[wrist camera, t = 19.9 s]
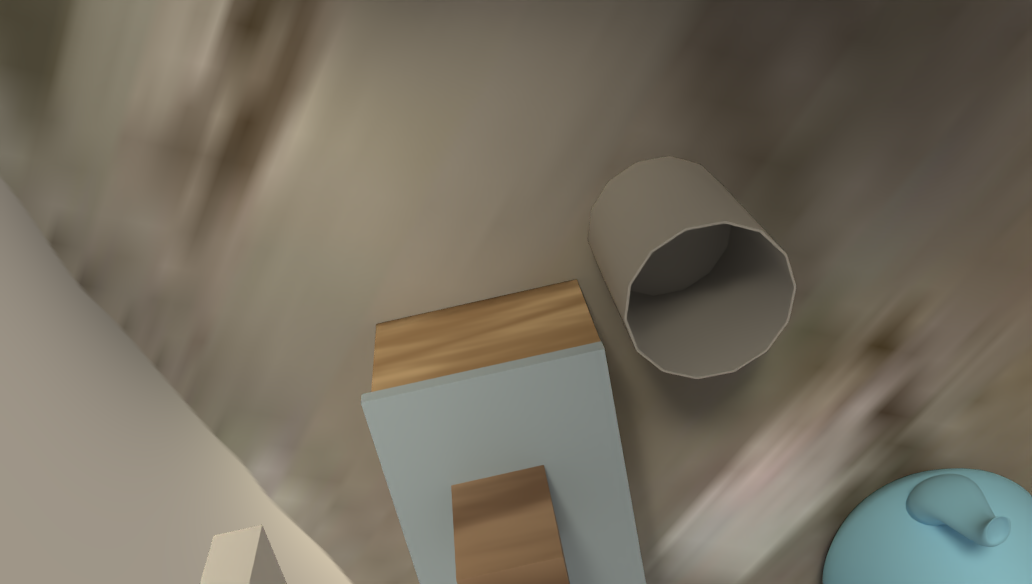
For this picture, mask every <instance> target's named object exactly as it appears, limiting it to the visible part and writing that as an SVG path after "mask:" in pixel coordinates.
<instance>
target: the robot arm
mask: <svg viewBox="0 0 1032 584" xmlns="http://www.w3.org/2000/svg"><path fill="white" fill-rule="evenodd" d="M200 584H287V583H286V581H285V578H284V576H283V574H282V571H281V569H280V566H279V564H278V562H277V559H276V557H275V554H274V552H273V550H272V547H271V545H270V543H269V540H268V538H267V535H266V533H265V530H264V528H263V526H262V525H259V526H255V527H250V528H245V529H241V530H237V531H232V532H228V533H223V534H219V535H214V537H213V540H212V544H211V548H210V551H209V554H208V558H207V561H206V564H205V568H204V571H203V575H202V579H201V582H200Z"/></svg>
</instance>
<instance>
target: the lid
mask: <svg viewBox="0 0 1032 584" xmlns="http://www.w3.org/2000/svg"><path fill="white" fill-rule="evenodd" d="M361 405H362V408H363V411H364V414H365V417H366V420H367V423H368V426H369V429H370V432H371V436H372V439H373V442H374V445H375V448H376V451H377V454H378V457H379V460H380V463H381V466H382V469H383V472H384V475H385V478H386V481H387V485H388V488H389V491H390V494H391V497H392V500H393V503H394V506H395V509H396V512H397V515H398V518H399V521H400V524H401V527H402V530H403V534H404V537H405V540H406V543H407V546H408V549H409V552H410V555H411V558H412V561H413V564H414V567H415V570H416V573H417V576H418V579H419V583H420V584H457V581H456V565H455V547H454V529H453V511H452V492H451V485H455V484H460V483H464V482H469V481H473V480H478V479H482V478H487V477H491V476H496V475H500V474H505V473H509V472H513V471H518V470H522V469H527V468H531V467H536V466H540V465H544V468H545V472H546V477H547V481H548V485H549V490H550V494H551V498H552V503H553V507H554V511H555V516H556V520H557V525H558V529H559V533H560V538H561V543H562V547H563V552H564V557H565V562H566V566H567V571H568V576H569V581H570V584H646V581H645V575H644V569H643V564H642V558H641V552H640V547H639V541H638V535H637V530H636V524H635V518H634V513H633V507H632V501H631V496H630V490H629V485H628V479H627V473H626V468H625V462H624V456H623V451H622V445H621V439H620V434H619V428H618V422H617V417H616V411H615V405H614V400H613V394H612V389H611V383H610V377H609V372H608V366H607V360H606V355H605V349H604V346H603V344H602V341H600V342H595V343H591V344H586V345H582V346H577V347H573V348H568V349H564V350H559V351H555V352H550V353H546V354H541V355H537V356H532V357H527V358H523V359H518V360H514V361H509V362H505V363H500V364H496V365H491V366H487V367H482V368H478V369H473V370H469V371H464V372H460V373H455V374H451V375H446V376H442V377H437V378H433V379H428V380H424V381H419V382H415V383H410V384H406V385H401V386H397V387H392V388H388V389H383V390H379V391H374V392H370V393H365V394H362V396H361Z"/></svg>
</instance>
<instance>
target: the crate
mask: <svg viewBox="0 0 1032 584" xmlns="http://www.w3.org/2000/svg"><path fill="white" fill-rule="evenodd" d="M595 342H600V339H599V336H598V333H597V331H596V328H595V326H594V323H593V321H592V318H591V315H590V313H589V310H588V308H587V305H586V302H585V300H584V297H583V295H582V292H581V290H580V287H579V284H578V282H577V279H575V280H571V281H566V282H562V283H557V284H553V285H548V286H544V287H540V288H535V289H531V290H526V291H522V292H517V293H513V294H508V295H504V296H499V297H495V298H490V299H486V300H482V301H477V302H473V303H468V304H464V305H459V306H455V307H450V308H446V309H441V310H437V311H432V312H428V313H424V314H419V315H415V316H410V317H406V318H401V319H397V320H392V321H388V322H383V323H379V324H376V336H375V350H374V364H373V377H372V391H371V392H374V391H379V390H383V389H388V388H392V387H397V386H401V385H406V384H410V383H415V382H419V381H424V380H428V379H433V378H437V377H442V376H446V375H451V374H455V373H460V372H464V371H469V370H473V369H478V368H482V367H487V366H491V365H496V364H500V363H505V362H509V361H514V360H518V359H523V358H527V357H532V356H537V355H541V354H546V353H550V352H555V351H559V350H564V349H568V348H573V347H577V346H582V345H586V344H591V343H595Z"/></svg>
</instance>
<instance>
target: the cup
mask: <svg viewBox="0 0 1032 584" xmlns="http://www.w3.org/2000/svg"><path fill="white" fill-rule="evenodd" d="M588 242H589V245H590V247H591V250H592V252H593V255H594V257H595V260H596V262H597V265H598V267H599V269H600V272H601V274H602V276H603V278H604V280H605V283H606V285H607V287H608V289H609V291H610V294H611V296H612V298H613V300H614V303H615V305H616V307H617V309H618V311H619V314H620V316H621V318H622V320H623V322H624V325H625V327H626V329H627V331H628V334H629V336H630V338H631V340H632V342H633V345H634V347H635V349H636V351H637V352H638V353H640V354H641V355H642V356H643V357H645V358H646V359H647V360H648V361H650V362H651V363H652V364H653V365H655V366H656V367H657V368H658V369H660V370H661V371H662V372H665V373H670V374H675V375H679V376H684V377H689V378H693V379H701V378H707V377H712V376H717V375H722V374H727V373H733V372H735V371H737V370H738V369H740V368H742V367H743V366H745V365H746V364H748V363H750V362H751V361H753V360H754V359H756V358H758V357H759V356H761V355H762V354H764V353H766V352H767V351H768V349H769V348H770V347H771V345H772V344H773V343H774V341H775V340H776V339H777V337H778V336H779V334H780V333H781V332H782V330H783V329H784V328H785V326H786V325H787V324H788V322H789V319H790V315H791V310H792V305H793V301H794V296H795V292H796V283H795V280H794V276H793V273H792V269H791V266H790V263H789V259H788V256H787V253H786V252H785V251H784V250H783V249H782V248H781V247H780V246H779V245H778V244H777V243H776V242H775V241H774V240H773V239H772V237H771V236H770V235H769V234H768V233H767V232H766V231H765V230H764V229H763V228H762V227H761V226H760V225H759V224H758V222H757V221H756V220H755V219H754V218H753V217H752V216H751V215H750V214H749V213H748V212H747V211H746V210H745V209H744V208H743V206H742V205H741V204H740V203H739V202H738V201H737V200H736V199H735V198H734V197H733V196H732V195H731V194H730V193H729V191H728V190H727V189H726V188H725V187H724V186H723V185H722V184H721V183H720V182H719V181H718V180H717V179H716V178H715V177H713V176H712V175H711V174H710V173H709V172H708V171H707V170H706V169H705V168H704V167H703V166H702V165H701V164H698V163H694V162H691V161H687V160H683V159H679V158H676V157H672V156H666V157H661V158H655V159H650V160H645V161H639V162H636V163H634V164H633V165H631V166H630V167H629V168H627V169H626V170H624V171H623V172H621V173H620V174H618V175H617V176H615V177H614V178H612V179H611V180H610V181H608V183H607V184H606V186H605V188H604V189H603V191H602V192H601V194H600V196H599V197H598V199H597V200H596V202H595V204H594V205H593V207H592V209H591V214H590V223H589V233H588Z"/></svg>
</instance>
